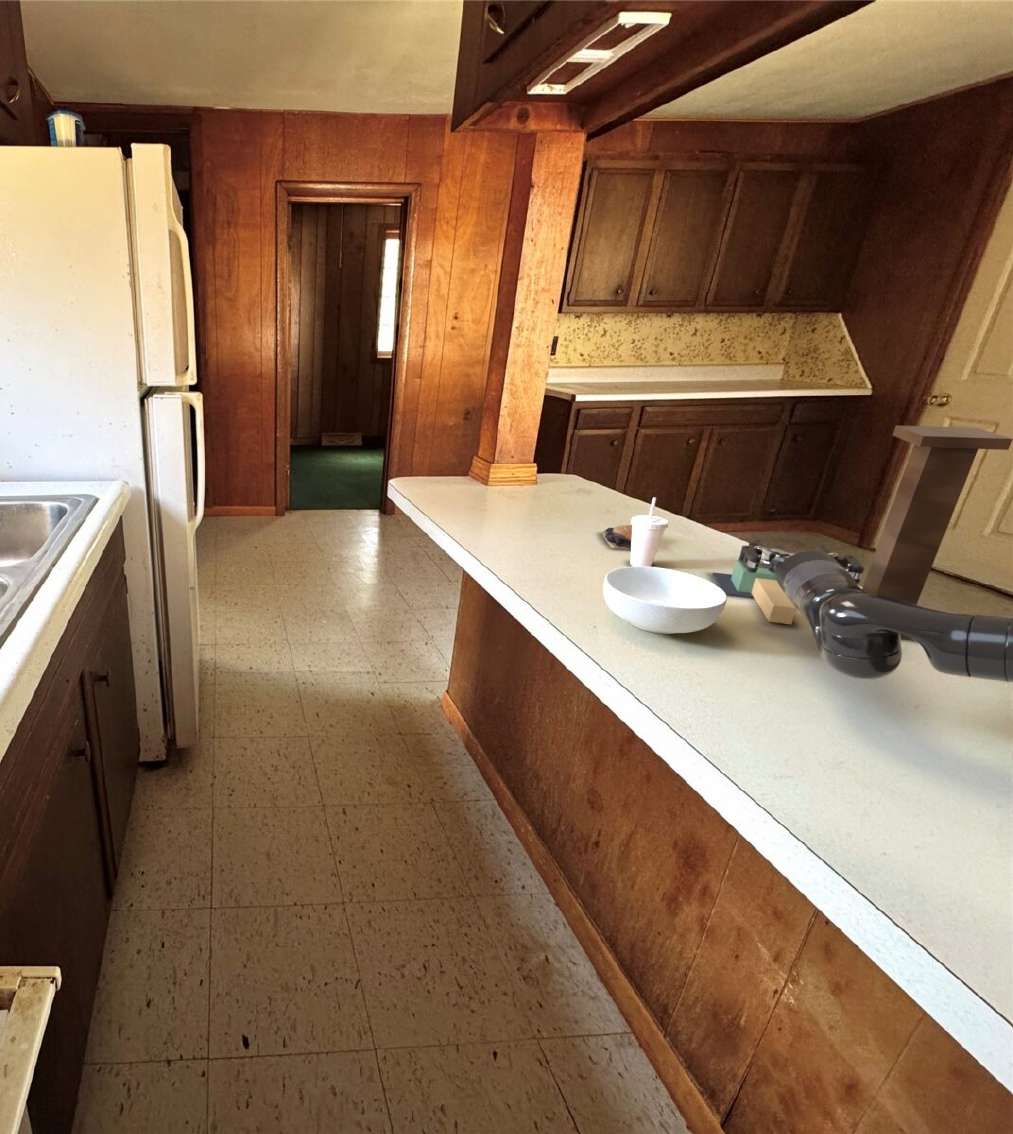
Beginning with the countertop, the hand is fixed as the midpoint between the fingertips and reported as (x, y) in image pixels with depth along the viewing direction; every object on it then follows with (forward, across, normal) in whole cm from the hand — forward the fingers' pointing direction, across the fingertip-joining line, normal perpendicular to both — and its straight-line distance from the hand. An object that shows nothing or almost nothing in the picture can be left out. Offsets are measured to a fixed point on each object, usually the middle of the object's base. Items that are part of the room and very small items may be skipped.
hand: (785, 548), depth 104 cm
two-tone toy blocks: (+1, 0, -10) cm, 10 cm away
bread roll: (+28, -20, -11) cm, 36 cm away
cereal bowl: (-14, -18, -11) cm, 25 cm away
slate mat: (+8, 0, -11) cm, 14 cm away
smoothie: (+14, -18, -11) cm, 26 cm away
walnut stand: (-2, +14, -11) cm, 18 cm away
